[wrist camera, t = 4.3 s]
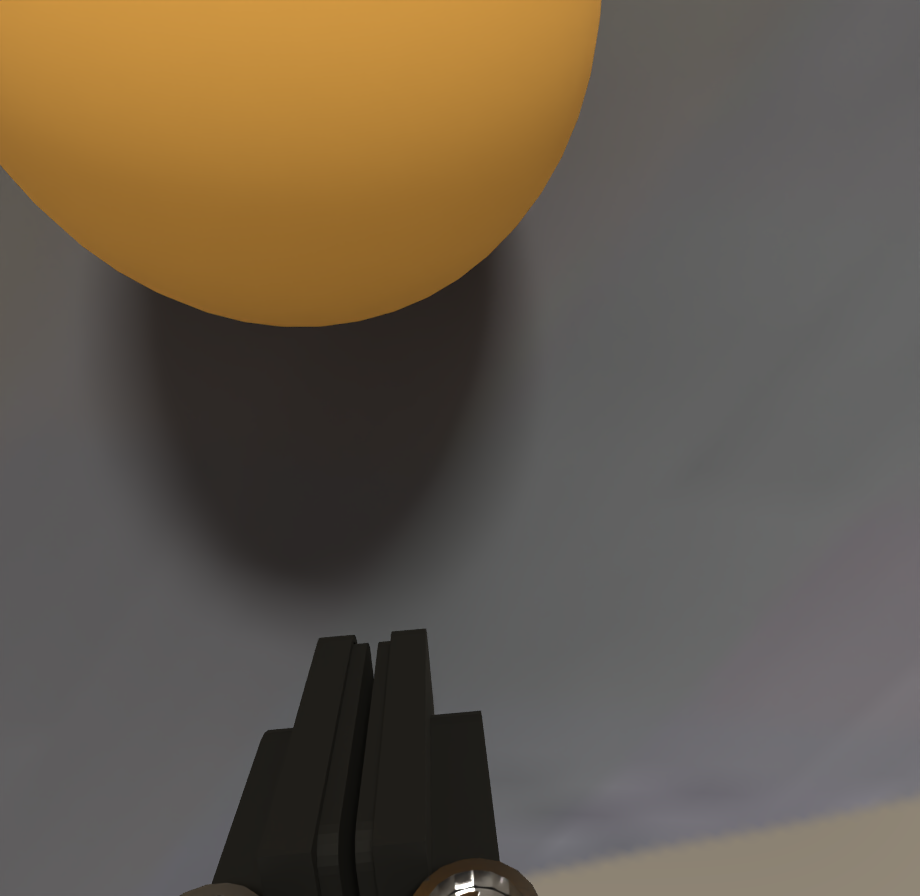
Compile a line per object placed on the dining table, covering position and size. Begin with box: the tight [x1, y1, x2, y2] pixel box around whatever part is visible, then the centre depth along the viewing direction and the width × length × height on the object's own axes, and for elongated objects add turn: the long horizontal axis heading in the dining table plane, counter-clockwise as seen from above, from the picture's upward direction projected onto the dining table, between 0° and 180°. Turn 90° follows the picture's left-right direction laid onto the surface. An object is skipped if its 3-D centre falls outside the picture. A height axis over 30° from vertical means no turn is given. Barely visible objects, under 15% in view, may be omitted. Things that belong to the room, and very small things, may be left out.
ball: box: [0, 0, 601, 327], centre depth 6 cm, size 6×6×6 cm
